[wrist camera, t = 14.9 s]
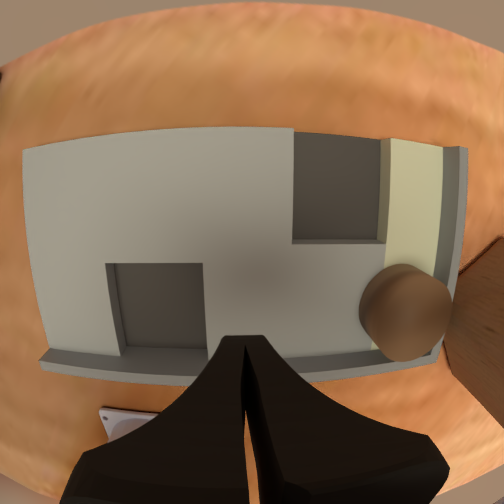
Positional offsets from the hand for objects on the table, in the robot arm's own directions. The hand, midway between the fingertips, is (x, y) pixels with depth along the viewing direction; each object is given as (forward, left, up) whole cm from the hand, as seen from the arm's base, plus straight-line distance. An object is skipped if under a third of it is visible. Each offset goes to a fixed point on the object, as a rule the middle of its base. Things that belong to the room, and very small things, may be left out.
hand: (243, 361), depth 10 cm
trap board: (+1, 0, -10) cm, 10 cm away
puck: (-2, -10, -8) cm, 13 cm away
